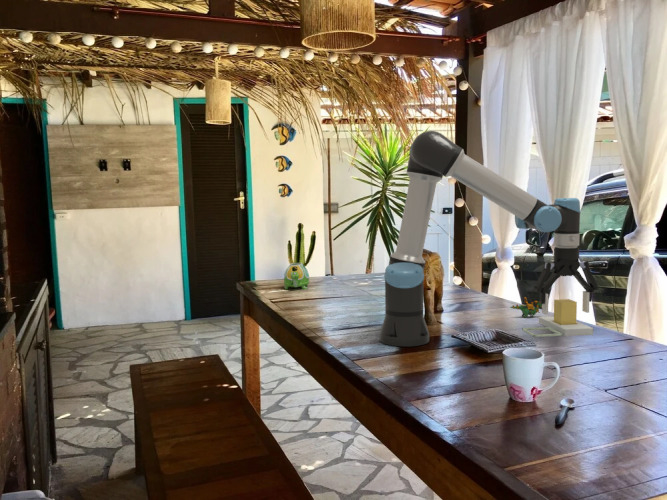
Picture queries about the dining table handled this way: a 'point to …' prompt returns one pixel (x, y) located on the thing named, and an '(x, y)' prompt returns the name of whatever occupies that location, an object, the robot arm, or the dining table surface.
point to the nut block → (565, 311)
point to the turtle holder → (296, 276)
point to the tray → (542, 334)
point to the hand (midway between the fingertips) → (565, 312)
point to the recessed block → (566, 327)
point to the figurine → (528, 308)
